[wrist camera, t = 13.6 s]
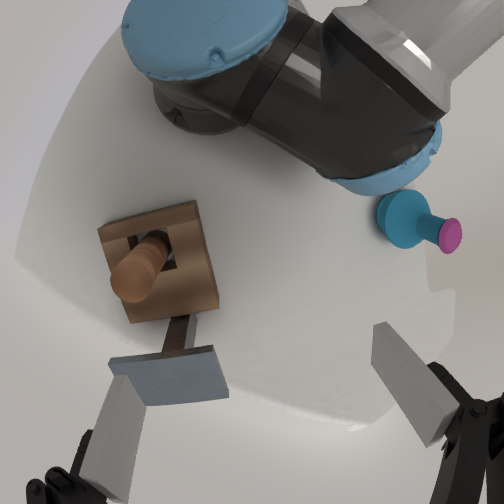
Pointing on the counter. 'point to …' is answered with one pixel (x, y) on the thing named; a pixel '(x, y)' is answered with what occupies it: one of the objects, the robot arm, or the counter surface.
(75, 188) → the counter surface
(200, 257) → the socket board
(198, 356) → the grey t-shaped block
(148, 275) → the peg
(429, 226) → the perfume bottle
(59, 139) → the counter surface
